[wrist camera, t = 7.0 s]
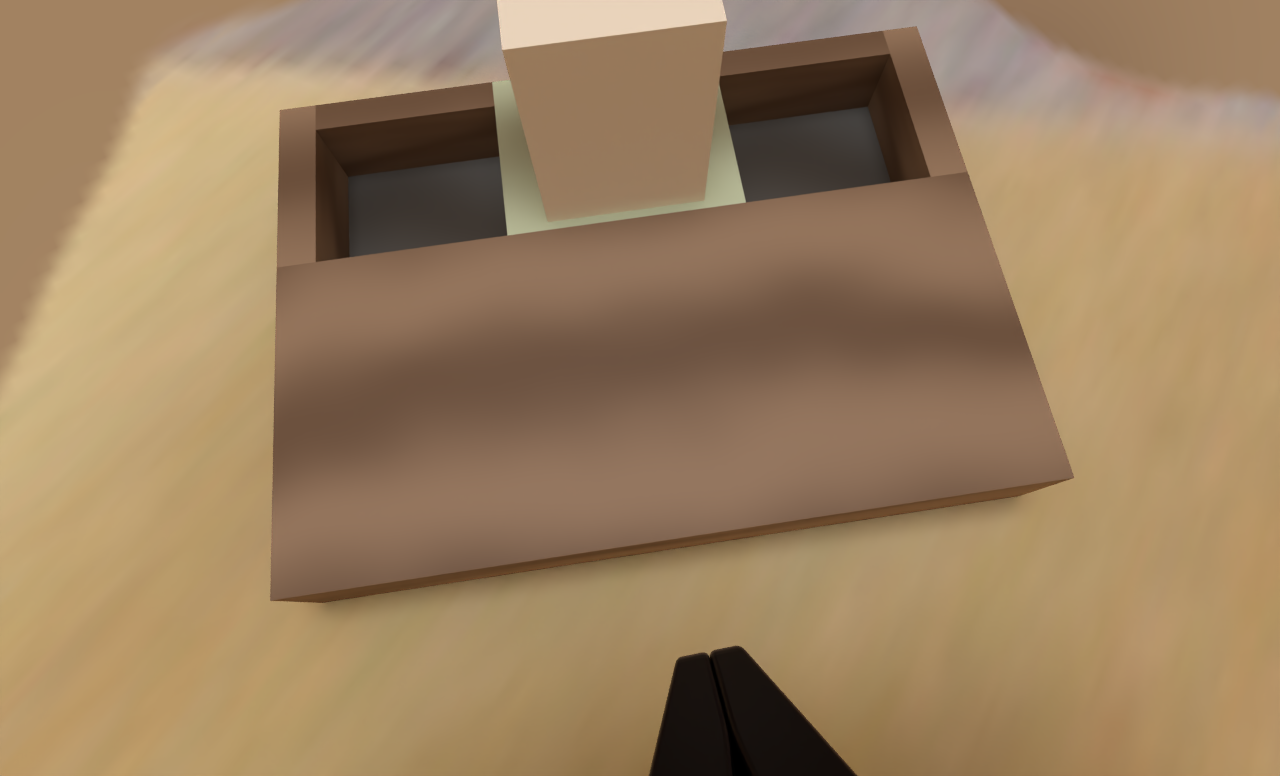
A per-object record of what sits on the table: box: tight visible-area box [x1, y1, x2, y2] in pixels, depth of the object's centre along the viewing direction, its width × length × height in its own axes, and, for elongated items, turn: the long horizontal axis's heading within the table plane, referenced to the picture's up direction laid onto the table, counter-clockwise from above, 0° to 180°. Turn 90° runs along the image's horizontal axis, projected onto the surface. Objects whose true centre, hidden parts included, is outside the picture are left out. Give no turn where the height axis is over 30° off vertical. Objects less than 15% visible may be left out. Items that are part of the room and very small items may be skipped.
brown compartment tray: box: [270, 26, 1074, 603], centre depth 23 cm, size 16×22×3 cm
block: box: [497, 0, 727, 222], centre depth 19 cm, size 5×5×7 cm
